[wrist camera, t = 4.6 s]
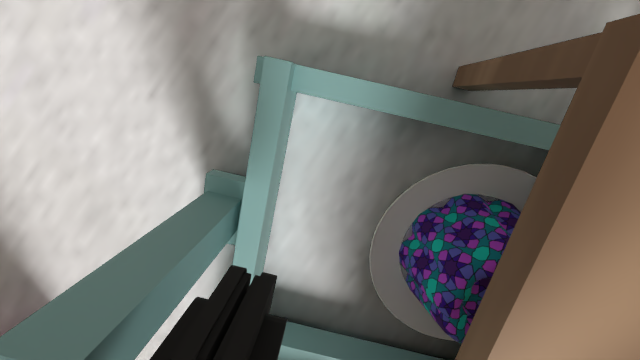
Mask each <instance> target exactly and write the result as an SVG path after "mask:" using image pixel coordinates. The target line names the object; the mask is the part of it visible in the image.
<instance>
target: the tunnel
mask: <svg viewBox="0 0 640 360" xmlns="http://www.w3.org/2000/svg"><path fill="white" fill-rule="evenodd" d="M452 87H456V88H461V89H465V90H469V91H483V90H517V89H552V88H577V90H576V92H575V94H574V97H573V99H572V101H571V103H570V105H569V108H568V110H567V112H566V114H565V116H564V119H563V121H562V123H561V125H560V128H559V130H558V132H557V134H556V136H555V139H554V141H553V143H552V145H551V147H550V150H549V152H548V154H547V156H546V159H545V161H544V163H543V165H542V167H541V170H540V172H539V174H538V176H537V178H536V181H535V183H534V185H533V187H532V190H531V192H530V194H529V196H528V198H527V201H526V203H525V205H524V207H523V210H522V212H521V214H520V216H519V218H518V221H517V223H516V225H515V227H514V229H513V232H512V234H511V236H510V238H509V241H508V243H507V245H506V247H505V249H504V252H503V254H502V256H501V258H500V260H499V263H498V265H497V267H496V269H495V272H494V274H493V276H492V278H491V280H490V283H489V285H488V287H487V289H486V291H485V294H484V296H483V298H482V300H481V303H480V305H479V307H478V309H477V311H476V314H475V316H474V318H473V320H472V322H471V325H470V327H469V329H468V331H467V334H466V336H465V338H464V340H463V342H462V345H461V347H460V349H459V351H458V353H457V356H456V358H455V360H640V14H637V15H634V16H630V17H626V18H623V19H619V20H615V21H612V22H608V23H606V26H605V28H604V30H603V32H602V33H597V34H593V35H589V36H585V37H581V38H577V39H573V40H568V41H564V42H560V43H556V44H552V45H548V46H544V47H539V48H535V49H531V50H527V51H523V52H519V53H515V54H510V55H506V56H502V57H498V58H494V59H490V60H486V61H481V62H477V63H473V64H469V65H465V66H461V67H459V68H458V71H457V74H456V77H455V80H454V83H453V86H452Z"/></svg>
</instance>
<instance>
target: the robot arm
mask: <svg viewBox="0 0 640 360" xmlns="http://www.w3.org/2000/svg"><path fill="white" fill-rule="evenodd" d="M276 279H277V276H276V275H272V274H268V273H264V272H262V274H261V275H260V276H258V275H255V276H254V278H253V280H252V282H251V284H250V281H251V274H250V273H247V268H243V267H239V266H235V265H231V266H230V268H229V269H228V271H227V272H226V274H225V275H224V277H223V278H222V280H221V281H220V283H219V284H218V286H217V287H216V289H215V290H214V292H213V293H212V295H211V296H210V298H209V299H204V298H200V297H197V298H195V299H194V301H193V302H192V303H191V304H190V306H189V307H188V309H187V310H186V311H185V313H184V314H183V315H182V317H181V318H180V319H179V321H178V322H177V323H176V325H175V326H174V328H173V329H172V330H171V332H170V333H169V334H168V336H167V337H166V338H165V340H164V341H163V342H162V344H161V345H160V346H159V348H158V349H157V351H156V352H155V353H154V355H153V356H152V357H151V359H150V360H278V356H279V352H280V348H281V344H282V340H283V336H284V332H285V327H286V323H287V319H285V318H281V317H277V316H273V315H269V312H270V308H271V303H272V298H273V293H274V289H275V284H276Z"/></svg>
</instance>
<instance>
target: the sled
mask: <svg viewBox="0 0 640 360" xmlns="http://www.w3.org/2000/svg"><path fill="white" fill-rule="evenodd" d="M254 83H259V84H260V89H259V96H258V102H257V109H256V115H255V122H254V128H253V135H252V141H251V148H250V154H249V161H248V167H247V174H246V177H244V176H240V175H236V174H231V173H227V172H223V171H219V170H214V169H213V170H211V171H210V172H208V173H206V178H205V187H204V194H203V195H201V196H200V197H198V198H197V199H195V200H194V201H193V202H191V203H190V204H188V205H187V206H186V207H184V208H183V209H181V210H180V211H178V212H177V213H176V214H174V215H173V216H171V217H170V218H168V219H167V220H166V221H164V222H163V223H161V224H160V225H159V226H157V227H156V228H154V229H153V230H151V231H150V232H149V233H147V234H146V235H144V236H143V237H141V238H140V239H139V240H137V241H136V242H134V243H133V244H132V245H130V246H129V247H127V248H126V249H124V250H123V251H122V252H120V253H119V254H117V255H116V256H114V257H113V258H112V259H110V260H109V261H107V262H106V263H105V264H103V265H102V266H100V267H99V268H97V269H96V270H95V271H93V272H92V273H90V274H89V275H87V276H86V277H85V278H83V279H82V280H80V281H79V282H78V283H76V284H75V285H73V286H72V287H70V288H69V289H68V290H66V291H65V292H63V293H62V294H60V295H59V296H58V297H56V298H55V299H53V300H52V301H51V302H49V303H48V304H46V305H45V306H43V307H42V308H41V309H39V310H38V311H36V312H35V313H33V314H32V315H31V316H29V317H28V318H26V319H25V320H24V321H22V322H21V323H19V324H18V325H16V326H15V327H14V328H12V329H11V330H9V331H8V332H6V333H5V334H4V335H2V336H1V337H0V360H135V358H136V357H137V356H138V355H139V353H140V352H141V351H142V349H143V348H144V347H145V346H146V344H147V343H148V342H149V341H150V339H151V338H152V337H153V336H154V334H155V333H156V332H157V331H158V329H159V328H160V327H161V326H162V324H163V323H164V322H165V320H166V319H167V318H168V317H169V315H170V314H171V313H172V312H173V310H174V309H175V308H176V307H177V305H178V304H179V303H180V302H181V300H182V299H183V298H184V296H185V295H186V294H187V293H188V291H189V290H190V289H191V288H192V286H193V285H194V284H195V283H196V281H197V280H198V279H199V278H200V276H201V275H202V274H203V273H204V271H205V270H206V269H207V267H208V266H209V265H210V264H211V262H212V261H213V260H214V259H215V257H216V256H217V255H218V254H219V252H220V251H221V250H222V249H223V247H224V246H225V245H226V244H227V243H228V244H232V245H235V252H234V258H233V265H235V266H239V267H243V268H247V273H250V274H251V281H250V284H251V282H252V280H253V278H254V276H255V275H258V276H260V275H261V274H262V272H263V269H264V264H265V258H266V253H267V248H268V242H269V237H270V232H271V227H272V221H273V216H274V211H275V205H276V200H277V195H278V190H279V184H280V179H281V174H282V168H283V163H284V158H285V153H286V147H287V142H288V137H289V131H290V126H291V121H292V116H293V110H294V105H295V100H296V94H297V92H298V93H302V94H307V95H311V96H315V97H320V98H324V99H328V100H333V101H337V102H341V103H346V104H350V105H354V106H359V107H363V108H367V109H372V110H376V111H380V112H385V113H389V114H393V115H398V116H402V117H406V118H411V119H415V120H419V121H424V122H428V123H432V124H437V125H441V126H445V127H450V128H454V129H458V130H463V131H467V132H472V133H476V134H480V135H485V136H489V137H493V138H498V139H502V140H506V141H511V142H515V143H519V144H524V145H528V146H532V147H537V148H541V149H545V150H550V147H551V145H552V143H553V141H554V139H555V136H556V134H557V132H558V130H559V128H560V125H559V124H554V123H550V122H545V121H541V120H537V119H532V118H528V117H524V116H519V115H515V114H510V113H506V112H502V111H497V110H493V109H489V108H484V107H480V106H476V105H471V104H467V103H462V102H458V101H454V100H449V99H445V98H441V97H436V96H432V95H428V94H423V93H419V92H414V91H410V90H406V89H401V88H397V87H393V86H388V85H384V84H379V83H375V82H371V81H366V80H362V79H358V78H353V77H349V76H345V75H340V74H336V73H331V72H327V71H323V70H318V69H314V68H310V67H305V66H301V65H296V64H294V63H293V62H290V61H285V60H281V59H276V58H272V57H268V56H264V57H262V56H257V63H256V70H255V76H254ZM278 360H445V359H440V358H436V357H432V356H428V355H424V354H420V353H416V352H412V351H407V350H403V349H399V348H395V347H391V346H387V345H383V344H379V343H374V342H370V341H366V340H362V339H358V338H354V337H350V336H346V335H341V334H337V333H333V332H329V331H325V330H321V329H317V328H313V327H308V326H304V325H300V324H296V323H292V322H288V321H287V323H286V327H285V332H284V336H283V340H282V344H281V348H280V352H279V356H278Z"/></svg>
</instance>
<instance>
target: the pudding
mask: <svg viewBox="0 0 640 360" xmlns="http://www.w3.org/2000/svg"><path fill="white" fill-rule="evenodd" d="M536 178H537V177H535V176H533V175H531V174H529V173H527V172H525V171H522V170H519V169H515V168H512V167H509V166H504V165H495V164H467V165H462V166H457V167H452V168H447V169H445V170H442V171H440V172H437V173H434V174H432V175H429V176H427V177H426V178H424V179H422V180H420V181H419V182H417V183H415V184H413V185H412V186H411V187H409V188H408V189H407V190H406V191H404V192H403V193H402V194H401V195H400V196H398V197H397V198H396V200H395V201H394V202H393V203H392V204H391V205H390V206H389V208H388V209H387V210H386V211H385V213H384V215H383V216H382V218H381V220H380V221H379V223H378V225H377V227H376V230H375V232H374V235H373V238H372V241H371V247H370V253H369V268H370V274H371V278H372V283H373V285H374V288H375V290H376V292H377V294H378V297H379V298H380V300H381V301H382V302H383V304H384V305H385V307H386V308H387V309H388V310H389V311H390V312H391V313H392V314H393V315H394V316H395V317H396V318H397V319H398V320H399V321H401V322H402V323H404V324H405V325H407V326H408V327H410V328H411V329H414V330H416V331H418V332H420V333H422V334H424V335H428V336H431V337H434V338H438V339H443V340H450V341H457V342H458V343H460V344H462V342H463V340H464V338H465V336H466V334H467V331H468V329H469V327H470V325H471V322H472V320H473V318H474V316H475V314H476V311H477V309H478V307H479V305H480V303H481V300H482V298H483V296H484V294H485V291H486V289H487V287H488V285H489V283H490V280H491V278H492V276H493V274H494V272H495V269H496V267H497V265H498V263H499V260H500V258H501V256H502V254H503V252H504V249H505V247H506V245H507V243H508V241H509V238H510V236H511V234H512V232H513V229H514V227H515V225H516V223H517V221H518V218H519V216H520V214H521V212H522V210H523V207H524V205H525V203H526V201H527V198H528V196H529V194H530V192H531V190H532V187H533V185H534V183H535V181H536ZM478 195H484V196H491V197H494V198H497V199H500V200H497V201H492V202H488V203H487V202H485V201H484V200H483V199H482V198H481V197H479V196H478ZM449 198H451V199H450V200H449V202H448V203H447V204H446V205H445V206H444V207H443V208H429V207H431V206H433V205H435V204H437V203H439V202H441V201H443V200H446V199H449ZM411 224H412V236H411V237H409V238H408V239H406V240H405V241H404V242H402V241H403V239H404V236H405V234H406V232H407V230H408V229H409V227H410V226H411ZM400 263H401V264H402V266H403V267H404V268H405V269H406V271H407V272H408V274H407V278H406V281H405V279H404V277H403V274H402V272H401V267H400Z"/></svg>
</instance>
